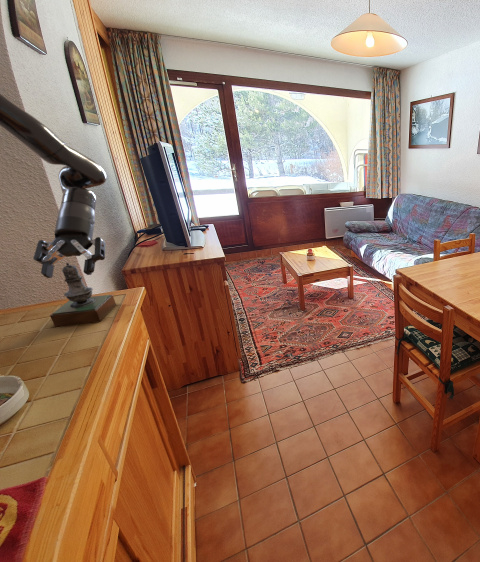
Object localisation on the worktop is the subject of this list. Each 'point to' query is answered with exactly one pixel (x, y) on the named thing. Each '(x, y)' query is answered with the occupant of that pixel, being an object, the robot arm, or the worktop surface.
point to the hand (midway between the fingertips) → (67, 275)
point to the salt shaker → (77, 288)
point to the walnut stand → (83, 311)
